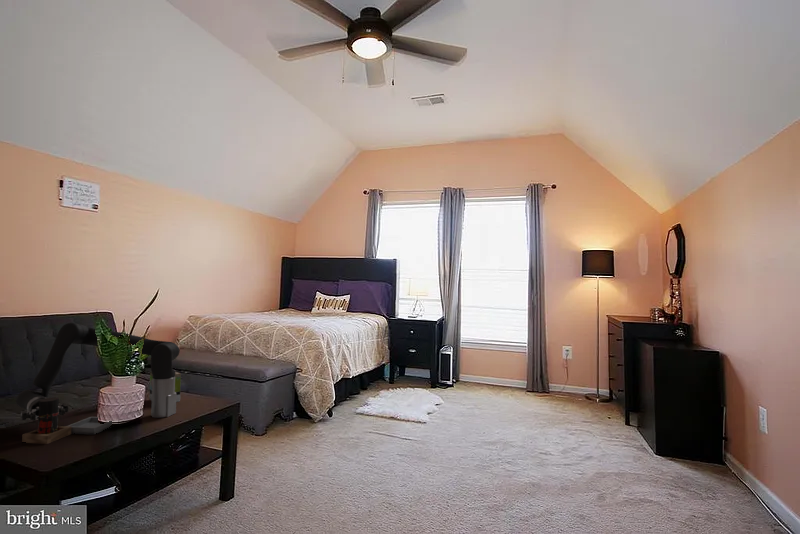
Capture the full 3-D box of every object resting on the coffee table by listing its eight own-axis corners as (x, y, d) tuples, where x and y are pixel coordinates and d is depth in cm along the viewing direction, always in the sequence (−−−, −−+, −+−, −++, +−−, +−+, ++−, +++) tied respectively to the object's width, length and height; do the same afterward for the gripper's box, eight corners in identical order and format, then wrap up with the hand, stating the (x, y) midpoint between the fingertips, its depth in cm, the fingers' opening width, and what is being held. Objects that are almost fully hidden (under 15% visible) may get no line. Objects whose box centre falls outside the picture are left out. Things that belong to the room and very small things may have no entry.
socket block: (71, 434, 169) (71, 426, 169) (47, 443, 158) (47, 435, 158) (47, 432, 170) (47, 425, 170) (22, 442, 159) (22, 434, 159)
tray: (118, 423, 182) (118, 417, 182) (94, 434, 169) (94, 428, 169) (90, 422, 183) (90, 416, 183) (64, 433, 170) (64, 426, 170)
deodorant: (34, 439, 163) (36, 400, 163) (52, 434, 168) (54, 396, 169) (41, 442, 160) (43, 402, 161) (60, 437, 165) (62, 398, 166)
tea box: (148, 400, 219) (149, 371, 219) (168, 396, 226) (169, 368, 227) (159, 405, 209) (160, 375, 210) (180, 401, 217) (181, 372, 217)
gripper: (17, 401, 169) (25, 409, 159) (62, 394, 180) (71, 401, 170) (16, 420, 169) (24, 429, 158) (61, 412, 180) (71, 420, 169)
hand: (48, 415), depth 164 cm, fingers open, 8 cm apart
